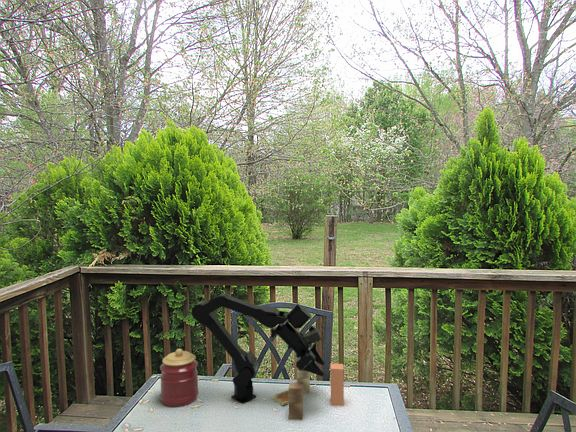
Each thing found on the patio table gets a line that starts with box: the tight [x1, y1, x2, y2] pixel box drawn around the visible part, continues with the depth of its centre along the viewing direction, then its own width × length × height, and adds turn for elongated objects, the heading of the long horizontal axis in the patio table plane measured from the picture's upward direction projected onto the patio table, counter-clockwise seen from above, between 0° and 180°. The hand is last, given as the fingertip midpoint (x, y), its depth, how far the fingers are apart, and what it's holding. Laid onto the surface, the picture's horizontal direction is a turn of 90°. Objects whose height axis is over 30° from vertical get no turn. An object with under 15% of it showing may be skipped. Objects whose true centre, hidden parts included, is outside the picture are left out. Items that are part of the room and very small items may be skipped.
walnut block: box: [288, 381, 305, 421], centre depth 126 cm, size 4×4×10 cm
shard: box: [272, 389, 289, 407], centre depth 138 cm, size 11×8×2 cm
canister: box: [159, 348, 199, 407], centre depth 138 cm, size 13×13×18 cm
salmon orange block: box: [330, 363, 345, 407], centre depth 135 cm, size 4×4×12 cm
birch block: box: [296, 367, 311, 394], centre depth 144 cm, size 4×4×10 cm
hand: (323, 369), depth 135 cm, fingers open, 9 cm apart
